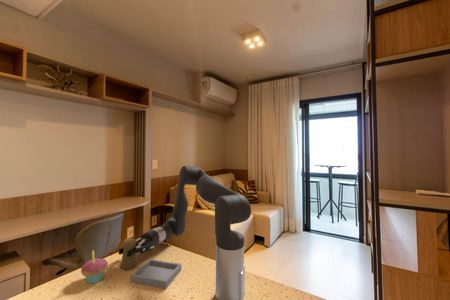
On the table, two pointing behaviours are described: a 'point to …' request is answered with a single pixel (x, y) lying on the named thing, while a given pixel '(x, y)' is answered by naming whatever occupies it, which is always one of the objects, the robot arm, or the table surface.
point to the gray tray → (156, 273)
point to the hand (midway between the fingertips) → (123, 253)
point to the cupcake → (94, 269)
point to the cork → (126, 262)
